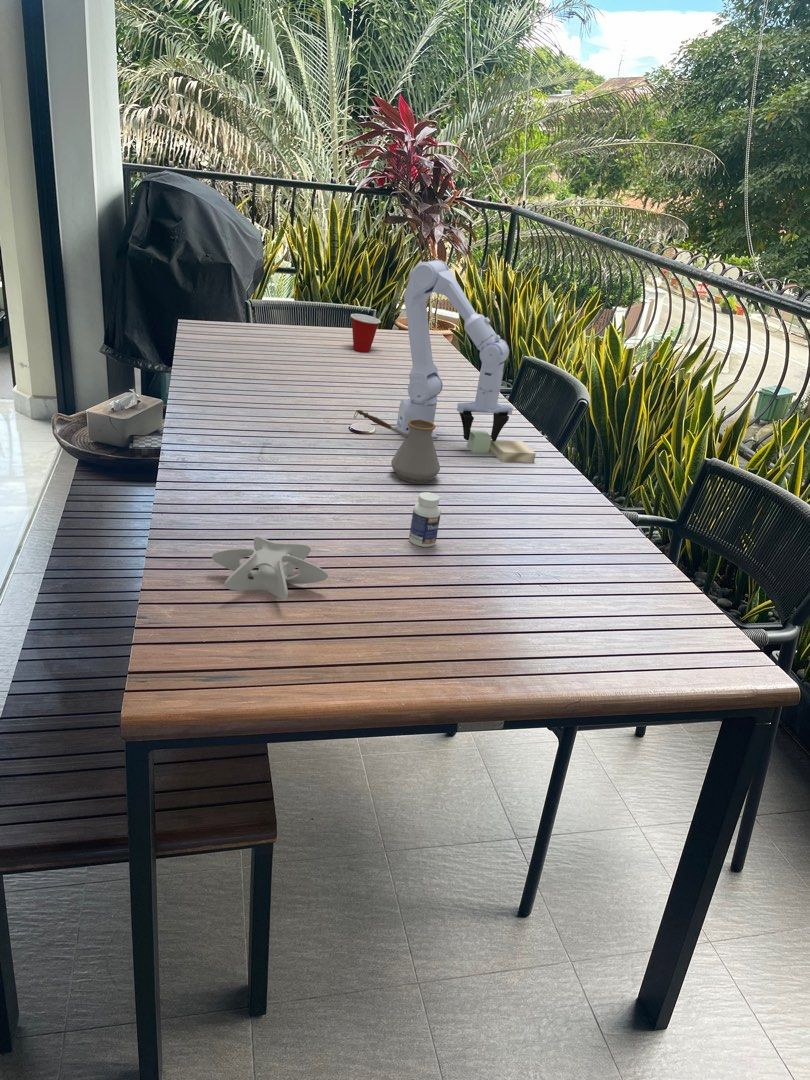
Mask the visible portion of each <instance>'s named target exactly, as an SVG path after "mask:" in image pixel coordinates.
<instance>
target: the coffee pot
mask: <svg viewBox="0 0 810 1080" xmlns="http://www.w3.org/2000/svg"><path fill="white" fill-rule="evenodd" d="M358 415H360V416H363V417H364V419H368V420H370V421H372V422H373V423H375V424H376V425H378V426H381V427H384V428H385V429H388V430H390V431H393V432H395V433H396V434H398V435H400V436H402V437H404V440H403V441H402V442H401V444H400V445H399V447H398V449H397V451H396V453H395V454H394V455H393V458H392V459H391V467H392V470H393V471H394V472H395V473H396V475H397V476H398V477H399V478H400V479H402V480H404V481H406V482H410V483H416V484H417V483H418V484H422V483H428V482H429V481H430V480H432V479H434V478H436V477H437V475H438V474H439V473H440V470H441V466H440V462H439V458H438V454H437V451H436V450H437V449H436V447H435V443H434V438H432V432H434V430H435V429H436V427H437V426H436V424H435V423H434V424H433V423H431V422H428V421H424V420H410V421H409V422H408V426H409V429H410V431H409V433H408V434H407V433H405V432H402V431H400V430H398V429H397V428H396V427H393V426H392V425H390V424H388V423H387V422H386V421H384V420H381V418H378V417H377V416H374V415H371V414H369V413H368V412H363V410H360V409H357V410H356V411H355V412H354V415H353V418H354V419H356V418H357V416H358Z"/></svg>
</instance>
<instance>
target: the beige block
mask: <svg viewBox="0 0 810 1080" xmlns="http://www.w3.org/2000/svg"><path fill="white" fill-rule="evenodd" d="M489 451H490V452H491V453H492V454H493V455H494V456H495V457H496V458H497V459H498V460H500V462H501V461H502V462H501V463H525V464H528V463H529V464H534V463H535V459H536V455H537V453H536V452H535V451H534V450H533V449H532V448H531V447H530V446H528V445H527V444H526V443H525V442H524V441H523V440H508V439H507V440H506V439H505V440H504V439H503V440H502V439H496V441H493V440H492V439H491V442H490V448H489Z"/></svg>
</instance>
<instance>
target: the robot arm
mask: <svg viewBox="0 0 810 1080" xmlns="http://www.w3.org/2000/svg"><path fill="white" fill-rule="evenodd" d="M405 288H406V289H405V291H404V294H403V299H404V307H405V316H406V321H407V322H406V323H407V331H408V338H409V346H410V356H411V361H412V363H411V364H412V367H411V370H410V371H409V375H408V377H409V378H408V379H409V381H408V382H409V383H408V387H407V395H408V397H409V399H401V400H400V402H399V406H398V415H397V419H396V425H395V428H396V429H398V430H400V431H402V432H405V433H407V434H408V433H409V431H410V429H409V426H408V422H409V421H410V420H424V421H428V422H431V423H433V424H434V425H435V417H436V410H437V404H438V398H437V397H438V395H440V393H442V390H443V386H444V384H443V380H442V378H441V377H440V375H439V371H438V370H439V369H438V367H437V366H436V364H435V363H434V360H433V359H434V358H433V351H432V344H431V343H432V342H431V336H430V335H431V334H430V327H429V325H430V324H429V319H428V318H429V317H428V316H429V315H428V309H427V300H428V299H429V298H430V296H431V295H432V294H433V293H436V294H439V295H443V296H445V297H446V298H447V300H448V301H449V303H450V304H451V305H452V307H453V308H454V309H455V311H457V313H458V314H459V316H460V317H461V318H462V319H463V320H464V327H463V328H464V331H465V332H466V334H467V335H468V336H469V339H470V340H471V341H472V342H473V344H474V345H475V347H476V348H477V350H478V351H479V359H480V361H481V367H480V370H479V377H478V382H477V388H476V393H475V399H474V400H475V401H473V402H472V401H471V402H458V403H457V407H456V411H457V412H458V413H459V416H460V419H461V424H462V432H463V439H464V440H465V441H468V440H469V436H470V430H472V425H473V421H474V420H475V416H473V413H477V414H478V413H479V414H480V413H481V414H493V419H492V420H493V422H492V428H491V434H490V436H491V440H493V441H496V440H498V437H499V434H500V433H501V431H502V429H503V428H504V426H505V425H506V424H507V422H508V421H509V420H510V416H511V415H512V414H513V410H514V407H513V406H512V405H508V404H501V403H500V404H499V403H498V402H499V398H500V391H501V386H502V382H503V374H504V367H505V362H506V360H507V359H508V357H509V355H510V348H509V347H510V346H509V345H508V343H507V341H506V340H504V339H502V338H501V336H500V334H497V333H496V332H495V330H494V329H493V327H492V326H491V323H490V322H491V319H490V318H489V317H488V316H487V317H485V316H484V314H480V313H477V312H476V311H475V309H474V307H473V305H472V304H471V302H470V300H469V299H468V298H467V296H466V294H465V292H464V290H463V289H462V287H461V285H460V284H459V282H458V281H457V279H456V276H455V274H454V272H453V271H452V270H451V269H449V266H448V265H447V263H446V262H445V261H443V260H441V259H434V260H431V261H421V262H418V263H417V264H416V265H415V266H414V267H413V268H412V270H411V271H410V272H409V280H408V282H407V285H406V287H405ZM509 415H510V416H509ZM432 438H433V439H436V438H438V435H437V434H436V433H435V431H433V432H432Z"/></svg>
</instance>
